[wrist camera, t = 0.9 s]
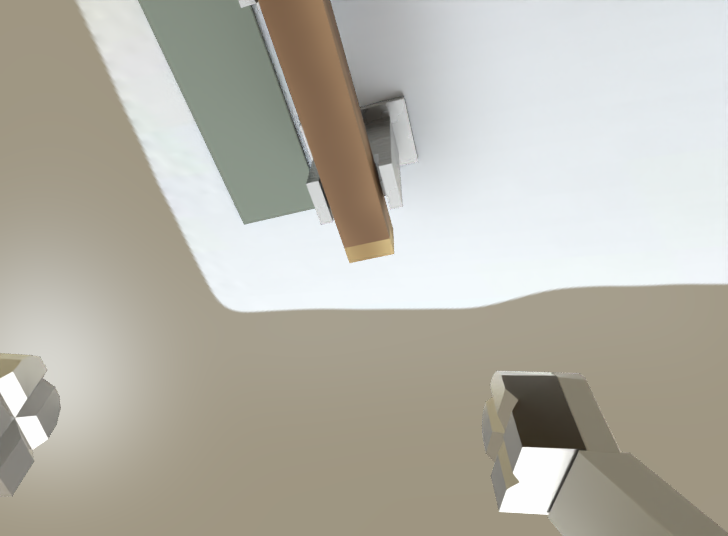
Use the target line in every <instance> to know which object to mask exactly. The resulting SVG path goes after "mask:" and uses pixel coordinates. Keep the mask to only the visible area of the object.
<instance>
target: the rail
mask: <svg viewBox="0 0 728 536" xmlns="http://www.w3.org/2000/svg"><path fill="white" fill-rule="evenodd" d="M258 2H259V5H260V8H261V11H262V14H263V17H264V19H265V22H266V25H267V28H268V31H269V34H270V37H271V39H272V42H273V45H274V48H275V51H276V54H277V57H278V59H279V62H280V65H281V68H282V71H283V74H284V77H285V79H286V82H287V85H288V88H289V91H290V94H291V97H292V100H293V102H294V105H295V108H296V111H297V114H298V117H299V120H300V122H301V125H302V128H303V131H304V134H305V137H306V140H307V142H308V145H309V148H310V151H311V154H312V157H313V160H314V162H315V165H316V168H317V171H318V174H319V177H320V180H321V183H322V185H323V188H324V191H325V194H326V197H327V200H328V203H329V205H330V208H331V211H332V214H333V217H334V220H335V223H336V225H337V228H338V231H339V234H340V237H341V240H342V243H343V245H344V248H345V251H346V254H347V257H348V260H349V263H352V262H357V261H362V260H367V259H371V258H376V257H381V256H386V255H391V254H394V237H393V227H392V223H391V220H390V216H389V213H388V209H387V205H386V202H385V198H384V194H383V191H382V187H381V183H380V180H379V176H378V173H377V169H376V165H375V162H374V158H373V154H372V151H371V147H370V143H369V140H368V136H367V133H366V129H365V125H364V122H363V118H362V114H361V111H360V107H359V103H358V100H357V96H356V93H355V89H354V85H353V82H352V78H351V74H350V71H349V67H348V63H347V60H346V56H345V53H344V49H343V45H342V42H341V38H340V34H339V31H338V27H337V23H336V20H335V16H334V13H333V9H332V5H331V2H330V0H258Z"/></svg>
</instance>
